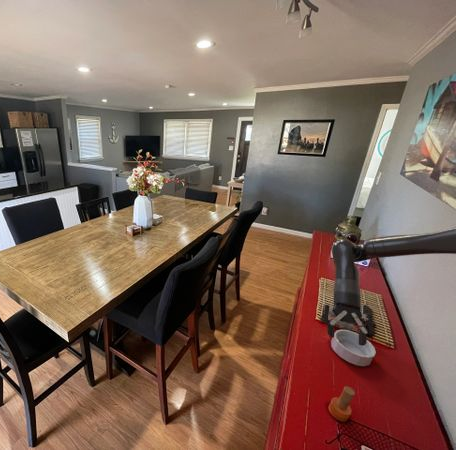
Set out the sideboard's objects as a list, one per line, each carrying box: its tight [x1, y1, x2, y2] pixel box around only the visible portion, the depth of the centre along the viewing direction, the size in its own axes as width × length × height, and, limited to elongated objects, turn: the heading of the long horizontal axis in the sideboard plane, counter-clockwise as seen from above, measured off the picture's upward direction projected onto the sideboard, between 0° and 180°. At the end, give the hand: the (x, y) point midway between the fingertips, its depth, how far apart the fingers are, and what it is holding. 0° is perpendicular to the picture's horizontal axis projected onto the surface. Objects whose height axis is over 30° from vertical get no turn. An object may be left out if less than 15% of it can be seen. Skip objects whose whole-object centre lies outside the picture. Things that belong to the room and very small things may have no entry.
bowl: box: [330, 329, 377, 367], centre depth 97 cm, size 13×13×6 cm
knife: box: [359, 304, 377, 337], centre depth 115 cm, size 25×6×1 cm, turn 135°
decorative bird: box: [328, 310, 360, 334], centre depth 110 cm, size 5×16×7 cm, turn 57°
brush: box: [328, 385, 356, 423], centre depth 75 cm, size 5×5×11 cm
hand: (346, 341), depth 80 cm, fingers open, 8 cm apart
